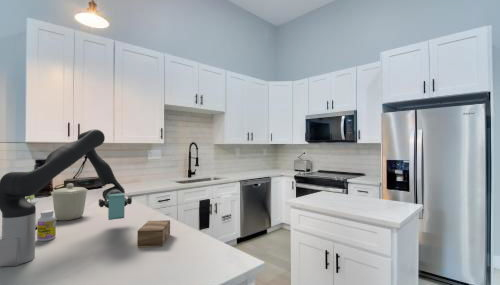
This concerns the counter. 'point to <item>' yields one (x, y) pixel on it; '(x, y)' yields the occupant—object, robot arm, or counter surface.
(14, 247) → the robot arm
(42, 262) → the counter surface
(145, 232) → the wooden crate
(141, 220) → the counter surface
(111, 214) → the teal lidded bin
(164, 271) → the counter surface
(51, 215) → the supplement bottle
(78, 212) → the canister
